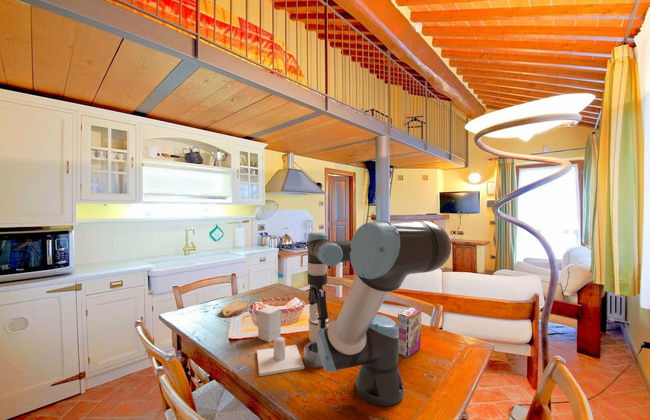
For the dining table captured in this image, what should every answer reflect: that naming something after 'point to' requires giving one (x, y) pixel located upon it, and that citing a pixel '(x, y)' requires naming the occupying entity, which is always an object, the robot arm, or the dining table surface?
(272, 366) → the post
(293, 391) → the dining table surface
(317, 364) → the ring
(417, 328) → the candy bar box
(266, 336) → the supplement box
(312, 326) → the teacup with lid
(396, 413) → the dining table surface
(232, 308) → the slice of bread
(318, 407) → the dining table surface
